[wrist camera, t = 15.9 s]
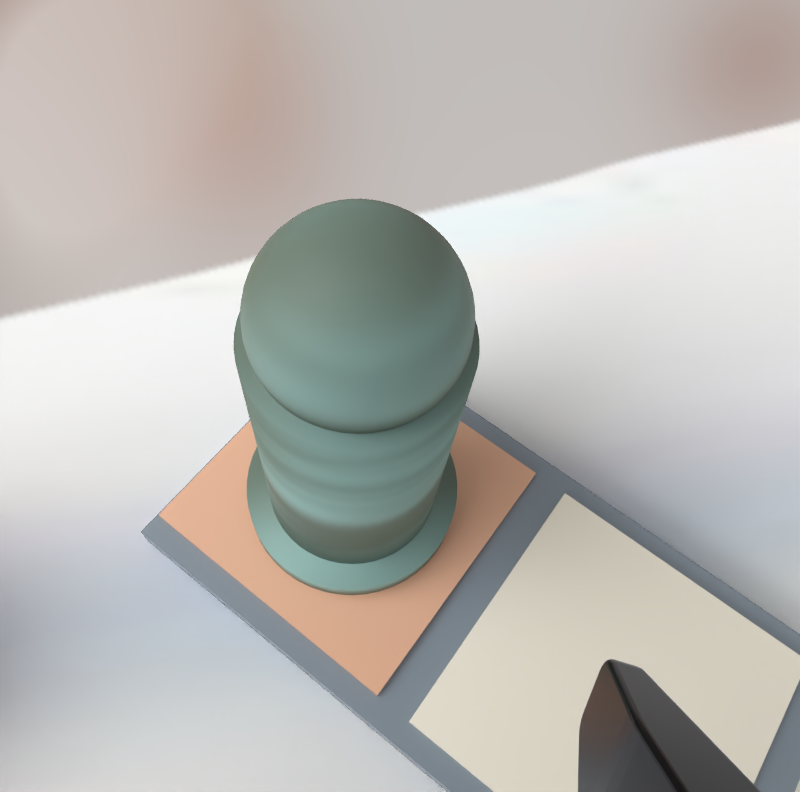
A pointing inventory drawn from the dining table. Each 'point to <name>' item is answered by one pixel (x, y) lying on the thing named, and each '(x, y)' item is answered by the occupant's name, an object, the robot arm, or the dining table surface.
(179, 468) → the dining table surface
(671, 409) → the dining table surface
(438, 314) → the game pawn
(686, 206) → the dining table surface
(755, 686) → the game board
